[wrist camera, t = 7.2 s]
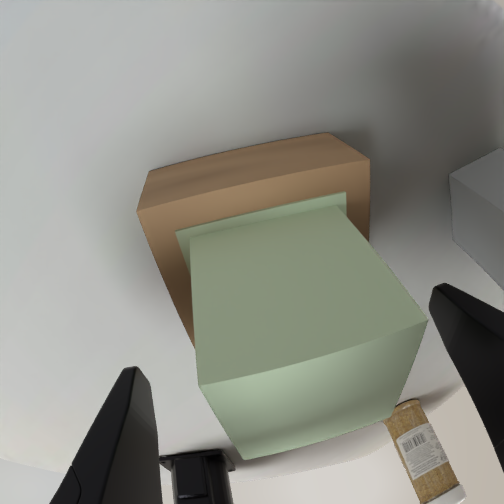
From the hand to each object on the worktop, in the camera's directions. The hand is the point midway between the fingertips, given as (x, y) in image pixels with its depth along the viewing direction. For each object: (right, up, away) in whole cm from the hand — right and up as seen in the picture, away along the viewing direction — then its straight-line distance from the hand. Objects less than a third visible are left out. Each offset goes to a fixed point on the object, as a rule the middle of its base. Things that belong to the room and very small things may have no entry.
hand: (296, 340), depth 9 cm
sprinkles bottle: (+15, -14, +21) cm, 29 cm away
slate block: (+12, +6, +6) cm, 14 cm away
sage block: (0, +2, +2) cm, 3 cm away
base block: (-1, +3, +5) cm, 6 cm away
